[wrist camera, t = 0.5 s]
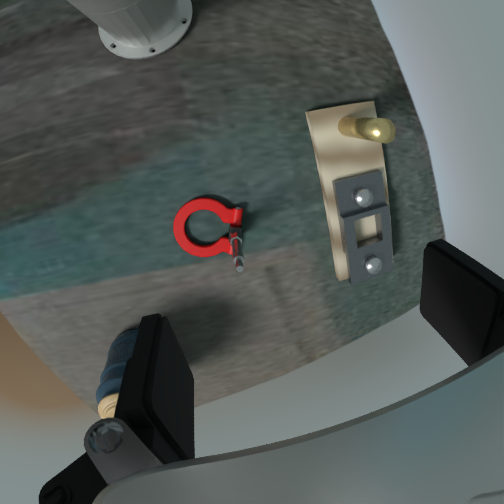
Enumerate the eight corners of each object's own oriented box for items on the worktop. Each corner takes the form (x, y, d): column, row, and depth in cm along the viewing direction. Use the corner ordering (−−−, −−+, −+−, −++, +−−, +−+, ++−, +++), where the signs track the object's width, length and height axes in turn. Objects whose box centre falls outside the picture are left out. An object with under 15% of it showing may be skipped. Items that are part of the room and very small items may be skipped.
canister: (101, 361, 51) (79, 437, 34) (126, 314, 47) (101, 395, 31) (162, 389, 55) (157, 465, 39) (194, 347, 52) (195, 431, 36)
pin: (336, 118, 38) (372, 120, 29) (354, 115, 38) (393, 116, 29) (340, 138, 39) (376, 145, 30) (357, 134, 39) (397, 141, 30)
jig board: (305, 111, 39) (308, 111, 37) (368, 101, 39) (373, 101, 38) (336, 276, 50) (339, 281, 48) (388, 258, 50) (393, 262, 49)
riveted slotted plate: (331, 180, 42) (340, 185, 39) (378, 169, 42) (389, 173, 39) (346, 278, 48) (354, 287, 46) (387, 264, 48) (396, 272, 46)
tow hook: (172, 250, 45) (236, 257, 46) (157, 296, 33) (242, 304, 34) (176, 193, 42) (244, 200, 43) (159, 222, 30) (253, 231, 31)
